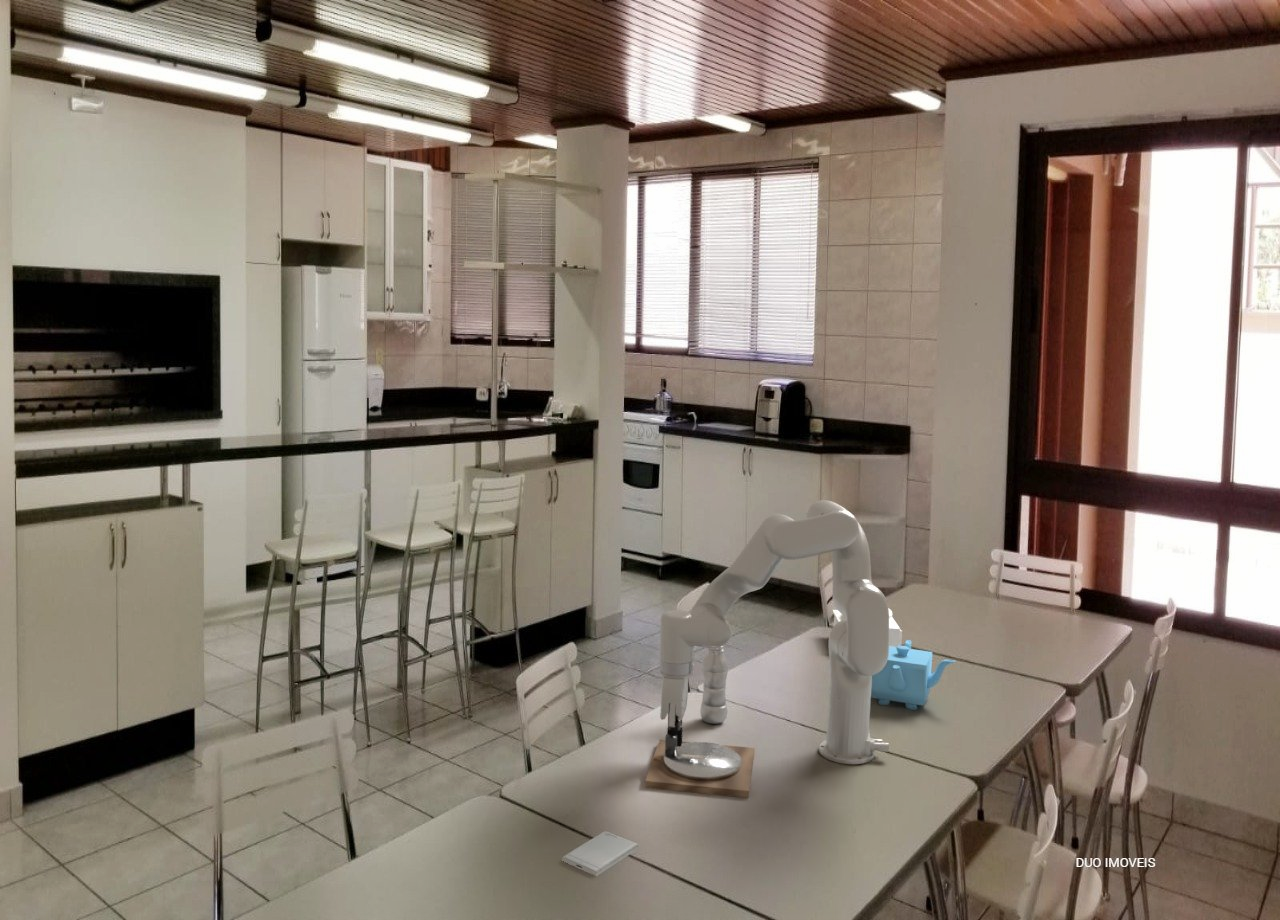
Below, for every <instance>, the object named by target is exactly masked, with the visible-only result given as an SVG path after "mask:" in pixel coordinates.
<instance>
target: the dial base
mask: <svg viewBox="0 0 1280 920" xmlns="http://www.w3.org/2000/svg"><path fill="white" fill-rule="evenodd" d="M688 742H689V741H683V740H682V743H688ZM722 745H723V746H726V747H728V748H730V749H732V750H734V751H735V752H736V753H737V754H738V755H739V756H740V758H741V766H740V769H739V771H738V772H737V773H735V774H734V775H732V776H729V777H727V778H723V779H717V780H696V779H689V778H685V777H682V776H679V775H676V774H674V773H672V772H671V771H669V770H668V769H667V768H666V767H665V765H664V754H665V739H659V741H658V744H657V745H656V746H657V747H656V750H655V752H654V755H653V758H652V760H651V764H650V765H649V766H650V767H649V768H648V772H647V775H646V778H645V781H644V788H645V787H646V789H655V788H656V789H655V790H657V789H658V790H666V791H667V790H668V791H676V792H686V793H697V794H707V795H708V794H709V795H715V796H717V795H719V796H725V797H726V796H727V797H728V796H729V797H736V798H737V797H738V798H739V797H740V798H748V799H749V797H750V793H751V792H750V791H751V782H752V774H753V767H754V760H755V747H747V746H736V745H728V744H727V745H726V744H722Z"/></svg>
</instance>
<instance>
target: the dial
mask: <svg viewBox="0 0 1280 920" xmlns="http://www.w3.org/2000/svg"><path fill="white" fill-rule="evenodd" d="M664 740H665V754H664V765H665V767H666V768H667V769H668V770H669V771H671V772H672V773H674V774H676V775H679V776H682V777H685V778H689V779H696V780H717V779H723V778H727V777H729V776H732V775H734V774H735V773H737V772H738V771H739V769H740V766H741V758H740V756H739V755H738V754H737V753H736V752H735V751H734V750H732V749H730V748H728V747H726V746H723V745H724V744H719V743H714V742H706V741H705V742H704V741H687V742H688V743H682V744H681V746H680V747H678V746H677V735H675V734H667V733H666V734H665V738H664Z"/></svg>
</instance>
